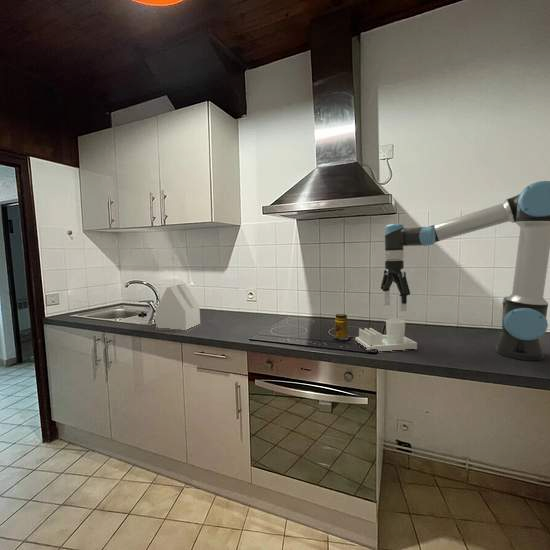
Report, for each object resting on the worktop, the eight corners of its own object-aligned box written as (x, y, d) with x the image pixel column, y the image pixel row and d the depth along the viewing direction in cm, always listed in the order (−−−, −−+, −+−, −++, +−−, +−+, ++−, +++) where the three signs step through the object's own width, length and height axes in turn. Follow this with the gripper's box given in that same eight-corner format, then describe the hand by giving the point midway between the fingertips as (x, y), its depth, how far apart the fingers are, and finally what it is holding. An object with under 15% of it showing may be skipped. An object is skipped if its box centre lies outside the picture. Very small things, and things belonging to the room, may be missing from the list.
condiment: (331, 339, 149) (331, 315, 148) (340, 335, 156) (340, 312, 154) (345, 342, 144) (345, 317, 143) (353, 337, 151) (353, 313, 150)
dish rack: (417, 349, 132) (417, 332, 131) (368, 353, 129) (368, 336, 128) (399, 339, 146) (399, 324, 145) (355, 343, 143) (355, 327, 142)
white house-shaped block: (156, 330, 176) (153, 287, 173) (172, 323, 191) (170, 283, 188) (186, 332, 171) (183, 287, 168) (200, 325, 185) (198, 283, 183)
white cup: (406, 346, 132) (406, 323, 131) (387, 345, 133) (387, 322, 132) (402, 340, 139) (403, 318, 139) (384, 339, 141) (384, 318, 140)
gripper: (372, 259, 146) (373, 303, 148) (401, 261, 121) (402, 314, 123) (387, 258, 147) (388, 302, 149) (419, 260, 122) (419, 313, 124)
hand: (394, 308), depth 136 cm, fingers open, 13 cm apart
